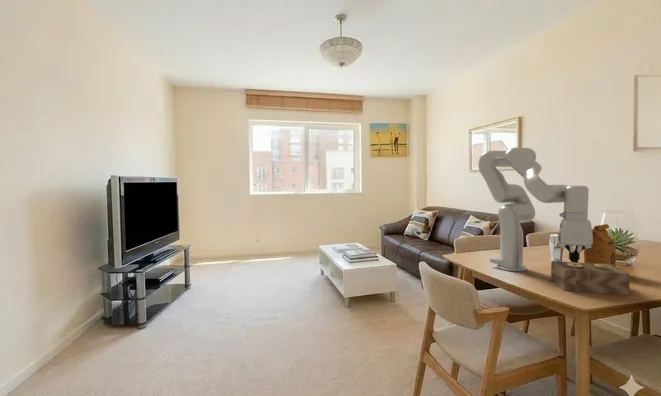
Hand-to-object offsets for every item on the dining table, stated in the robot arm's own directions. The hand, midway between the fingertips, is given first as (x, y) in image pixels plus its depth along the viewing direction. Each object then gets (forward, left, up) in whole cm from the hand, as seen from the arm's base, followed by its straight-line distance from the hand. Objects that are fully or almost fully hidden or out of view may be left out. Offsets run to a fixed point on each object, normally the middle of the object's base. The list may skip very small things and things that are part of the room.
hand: (574, 261), depth 124 cm
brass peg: (0, 0, -9) cm, 9 cm away
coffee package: (+18, +24, -10) cm, 32 cm away
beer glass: (+5, +35, -10) cm, 36 cm away
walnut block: (+4, 0, -10) cm, 11 cm away
